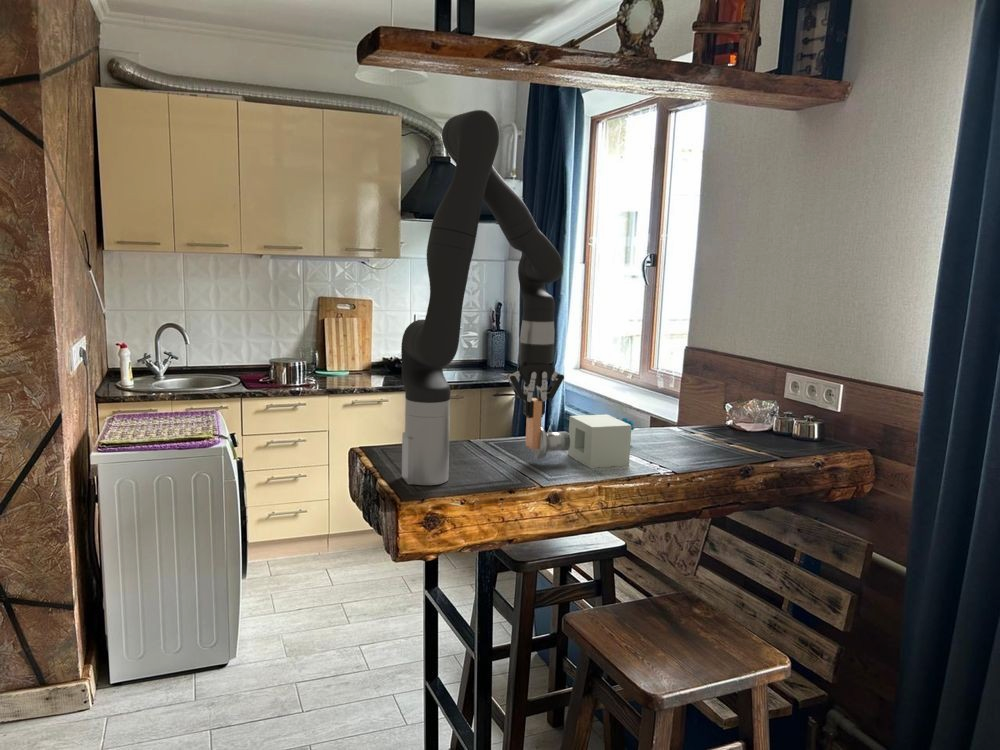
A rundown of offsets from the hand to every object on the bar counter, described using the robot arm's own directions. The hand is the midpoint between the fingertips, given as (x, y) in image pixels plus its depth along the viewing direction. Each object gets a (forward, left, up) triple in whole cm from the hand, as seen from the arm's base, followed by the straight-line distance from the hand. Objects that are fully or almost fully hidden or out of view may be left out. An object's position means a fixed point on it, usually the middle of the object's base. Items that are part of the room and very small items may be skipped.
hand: (534, 416), depth 167 cm
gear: (+27, +13, -11) cm, 33 cm away
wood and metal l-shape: (+4, 0, -10) cm, 11 cm away
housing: (+17, 0, -11) cm, 20 cm away
